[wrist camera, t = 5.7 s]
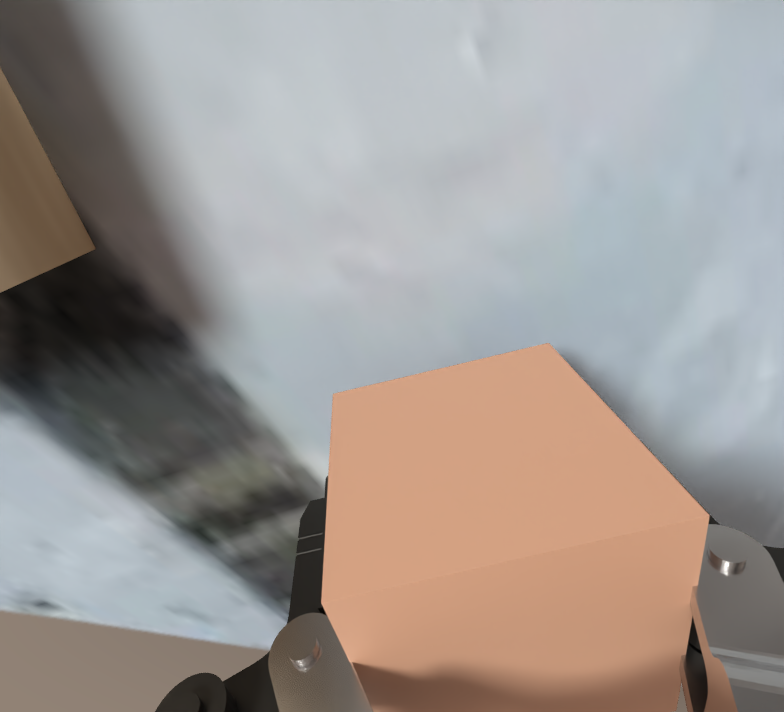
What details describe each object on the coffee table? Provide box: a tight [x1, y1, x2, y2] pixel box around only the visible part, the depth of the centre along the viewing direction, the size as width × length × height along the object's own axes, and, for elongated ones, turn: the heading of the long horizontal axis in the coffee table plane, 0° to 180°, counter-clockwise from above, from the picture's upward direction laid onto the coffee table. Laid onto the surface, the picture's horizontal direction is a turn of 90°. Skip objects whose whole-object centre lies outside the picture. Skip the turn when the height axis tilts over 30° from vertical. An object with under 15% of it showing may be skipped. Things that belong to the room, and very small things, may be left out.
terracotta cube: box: [321, 343, 710, 712], centre depth 10 cm, size 6×6×6 cm
